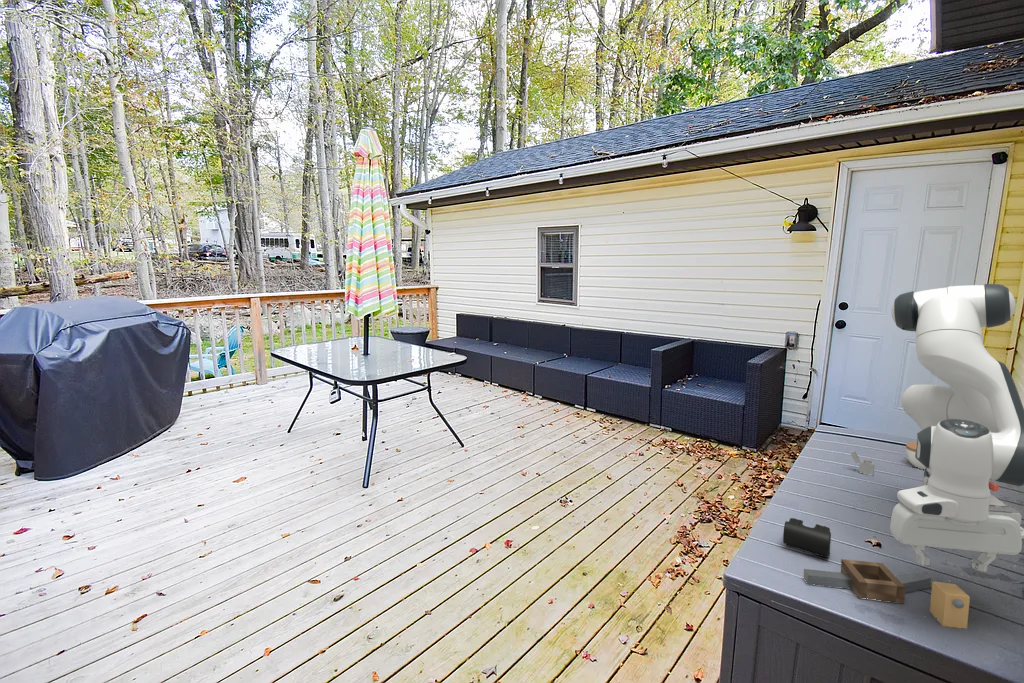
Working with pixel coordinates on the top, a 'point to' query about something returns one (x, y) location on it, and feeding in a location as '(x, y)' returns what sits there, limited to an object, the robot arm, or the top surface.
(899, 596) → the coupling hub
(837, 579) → the steel shafts
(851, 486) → the top surface
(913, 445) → the lidded jar
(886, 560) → the top surface
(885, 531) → the top surface
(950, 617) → the block
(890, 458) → the top surface
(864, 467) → the lighter
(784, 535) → the end cap
